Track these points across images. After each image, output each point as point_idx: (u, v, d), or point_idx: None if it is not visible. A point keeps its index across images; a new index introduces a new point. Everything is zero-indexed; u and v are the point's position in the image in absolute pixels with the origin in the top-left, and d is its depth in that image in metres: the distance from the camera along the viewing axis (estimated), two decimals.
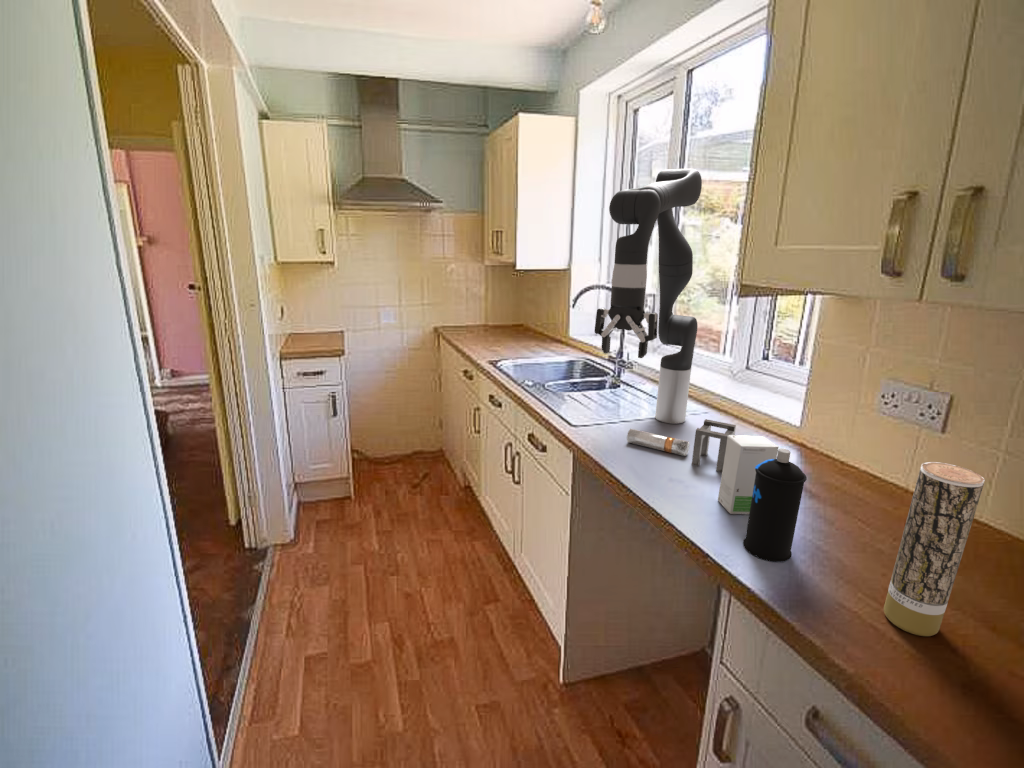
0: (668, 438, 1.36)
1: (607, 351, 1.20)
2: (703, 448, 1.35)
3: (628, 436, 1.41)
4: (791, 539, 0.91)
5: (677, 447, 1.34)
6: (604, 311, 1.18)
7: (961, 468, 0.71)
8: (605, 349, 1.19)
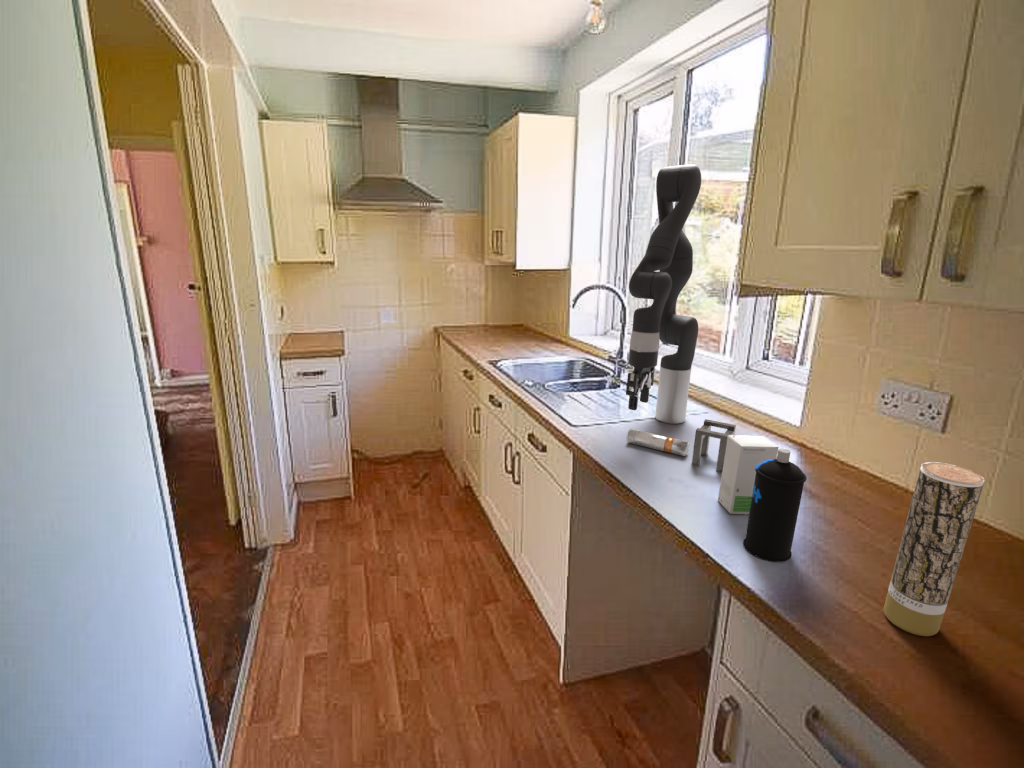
0: (668, 438, 1.36)
1: None
2: (703, 448, 1.35)
3: (628, 436, 1.41)
4: (791, 539, 0.91)
5: (677, 448, 1.34)
6: None
7: (961, 468, 0.71)
8: (636, 406, 1.35)
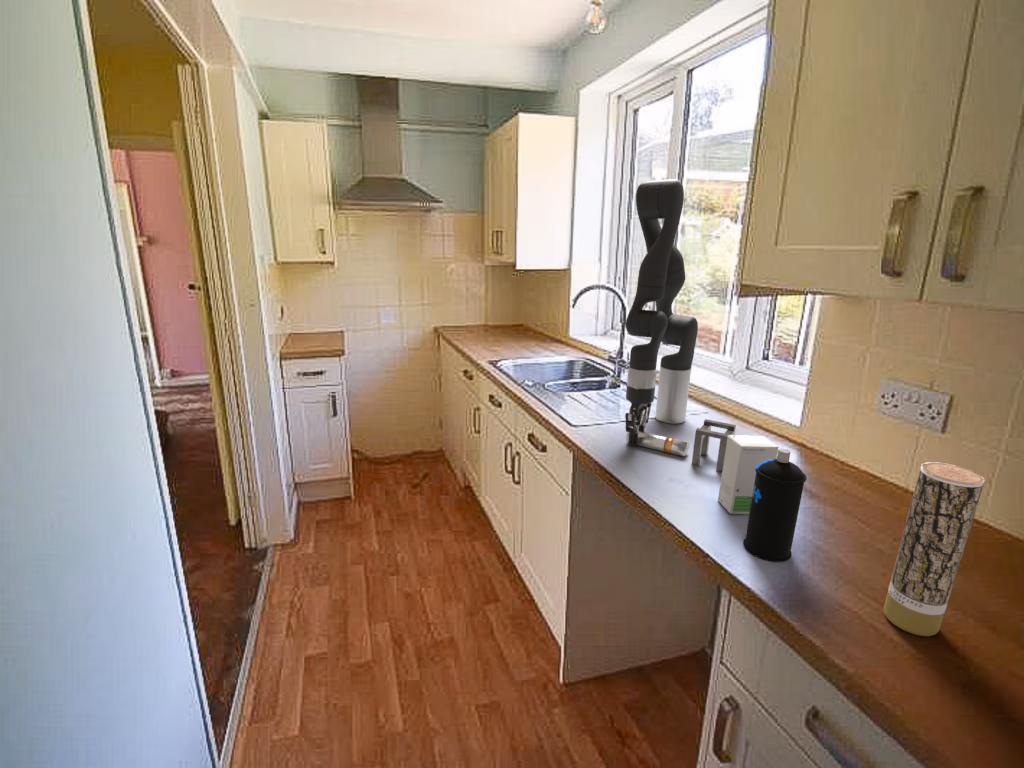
0: (667, 439, 1.35)
1: None
2: (703, 448, 1.35)
3: (627, 438, 1.41)
4: (791, 539, 0.91)
5: (676, 449, 1.33)
6: (633, 414, 1.35)
7: (961, 468, 0.71)
8: (636, 442, 1.39)
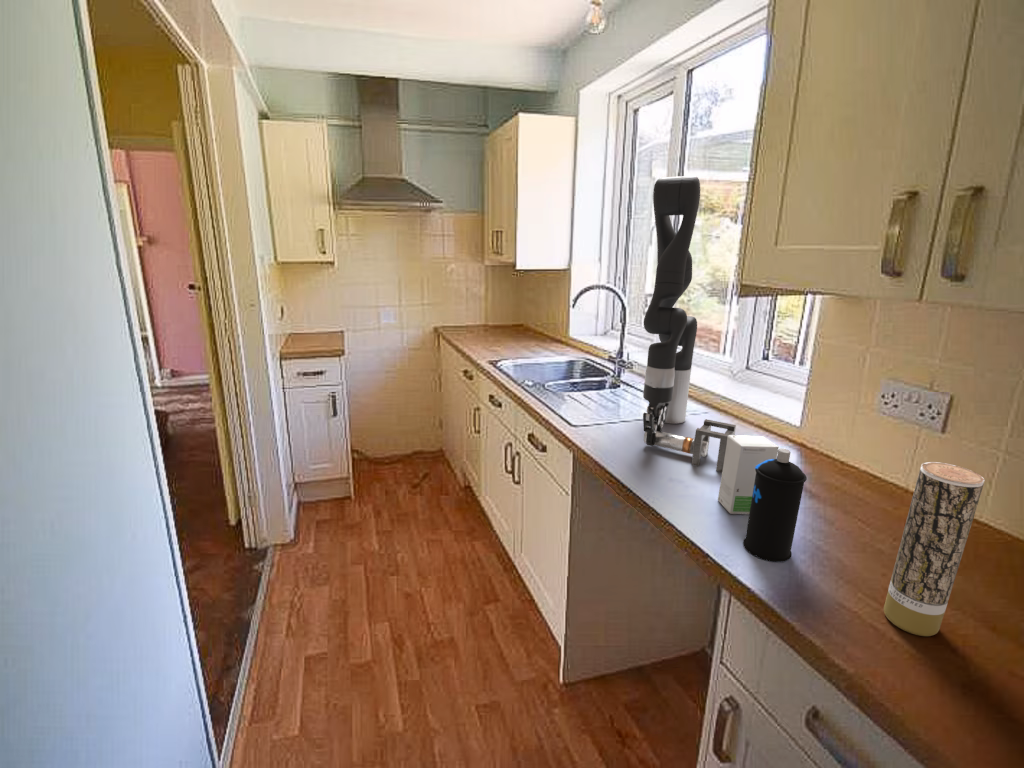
0: (686, 439, 1.33)
1: None
2: None
3: (645, 437, 1.38)
4: (791, 539, 0.91)
5: None
6: (651, 413, 1.32)
7: (961, 468, 0.71)
8: (654, 442, 1.37)
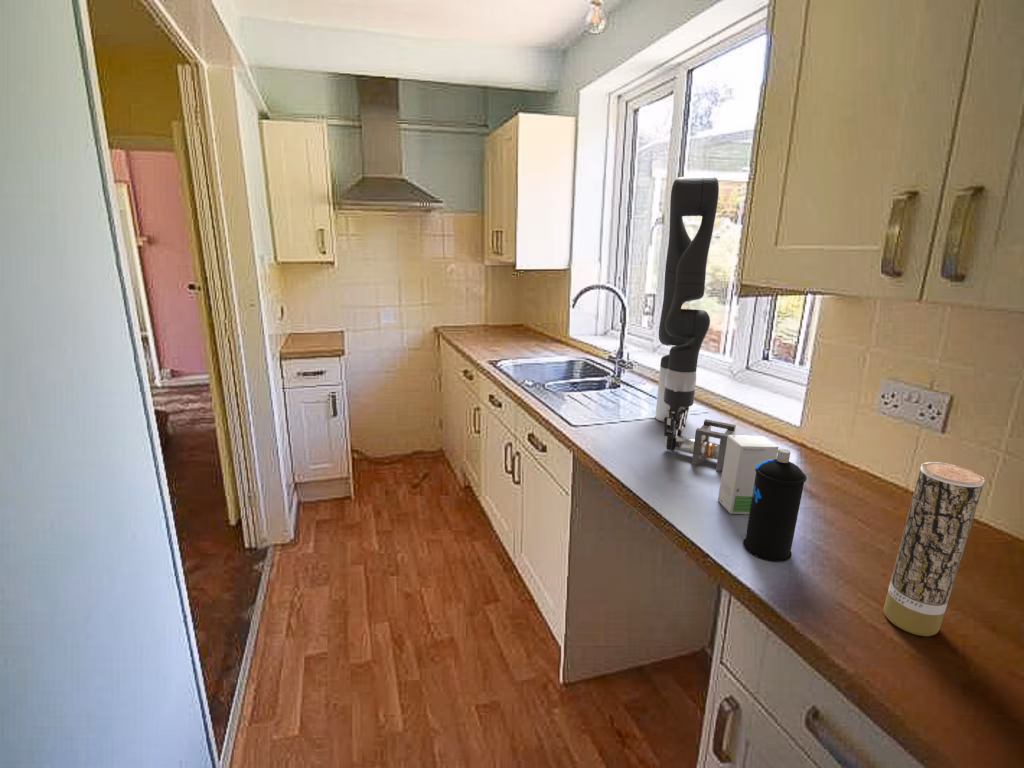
0: (708, 444, 1.30)
1: None
2: None
3: (665, 442, 1.35)
4: (791, 539, 0.91)
5: None
6: (672, 418, 1.29)
7: (961, 468, 0.71)
8: None
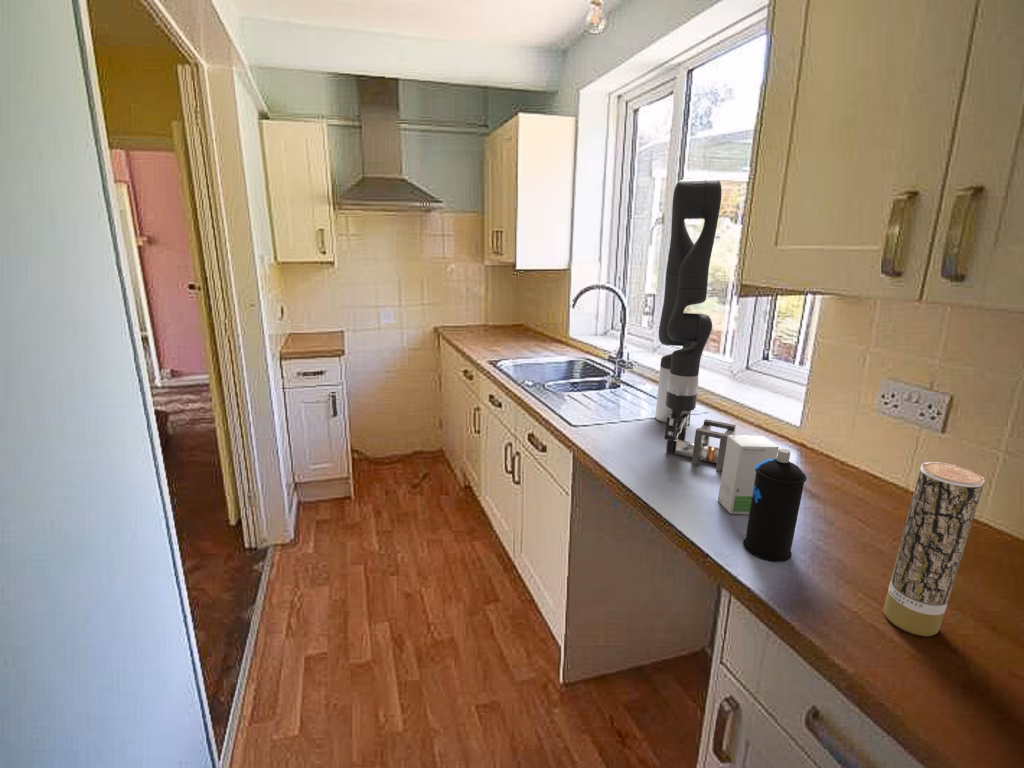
0: (710, 448, 1.30)
1: None
2: None
3: None
4: (791, 539, 0.91)
5: None
6: None
7: (961, 468, 0.71)
8: (675, 450, 1.32)
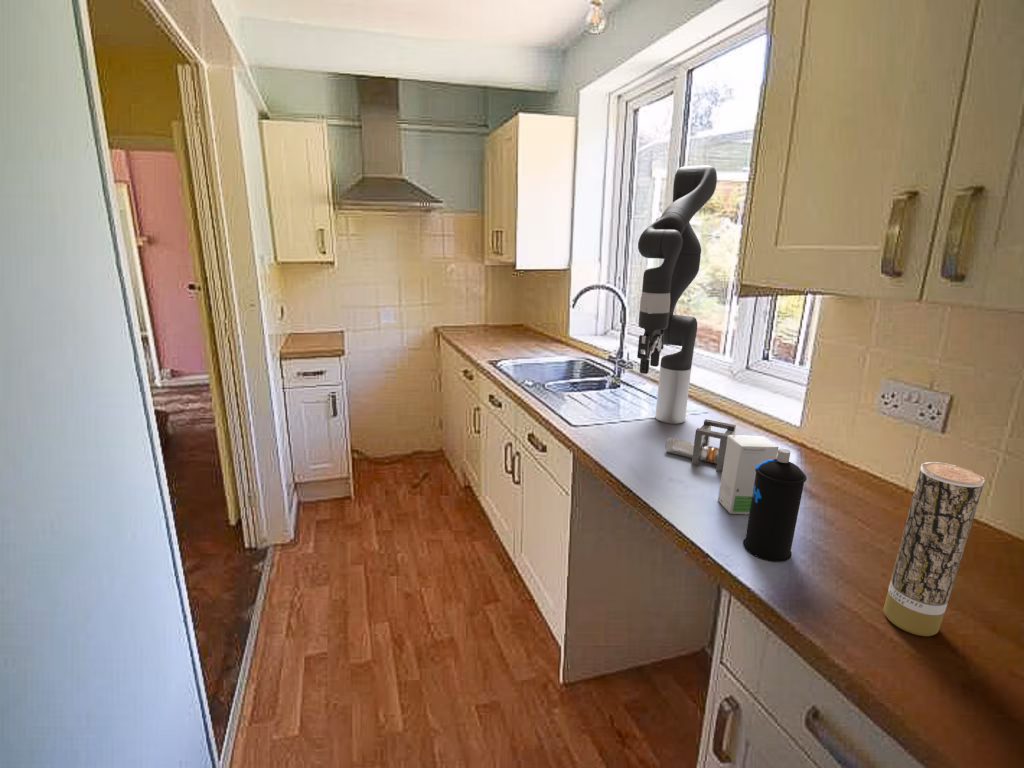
0: (710, 449, 1.30)
1: None
2: None
3: (667, 447, 1.35)
4: (791, 539, 0.91)
5: None
6: None
7: (961, 468, 0.71)
8: (648, 370, 1.32)
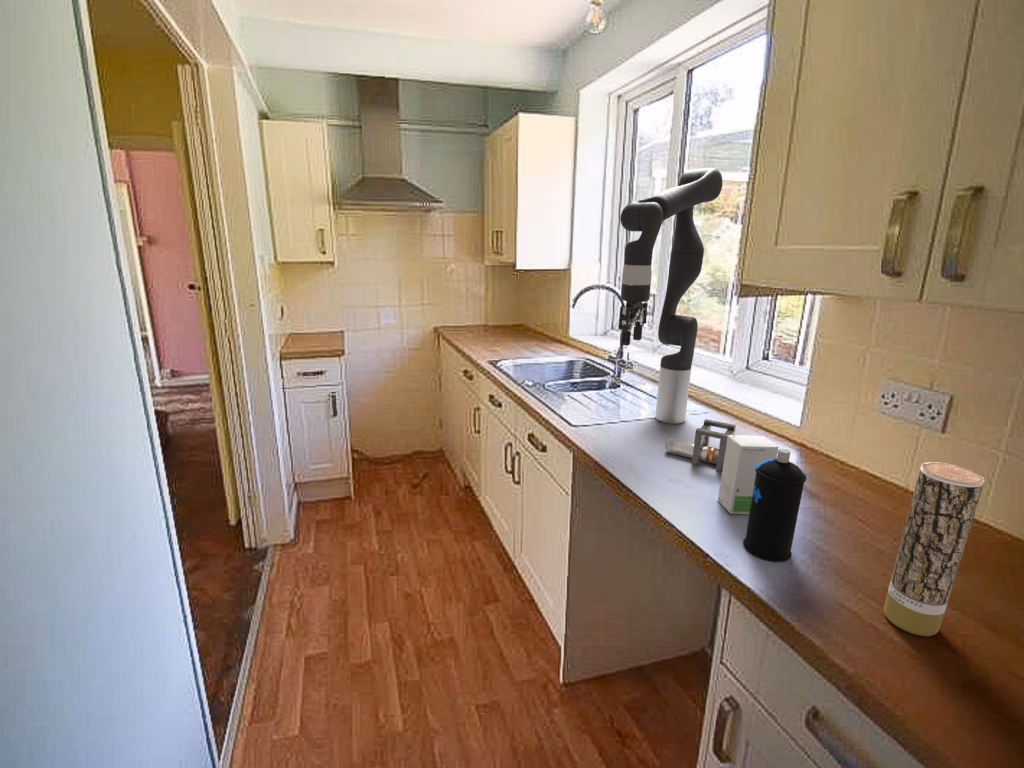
0: (709, 450, 1.29)
1: None
2: None
3: (666, 448, 1.35)
4: (791, 539, 0.91)
5: None
6: None
7: (961, 468, 0.71)
8: (629, 341, 1.34)
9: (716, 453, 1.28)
